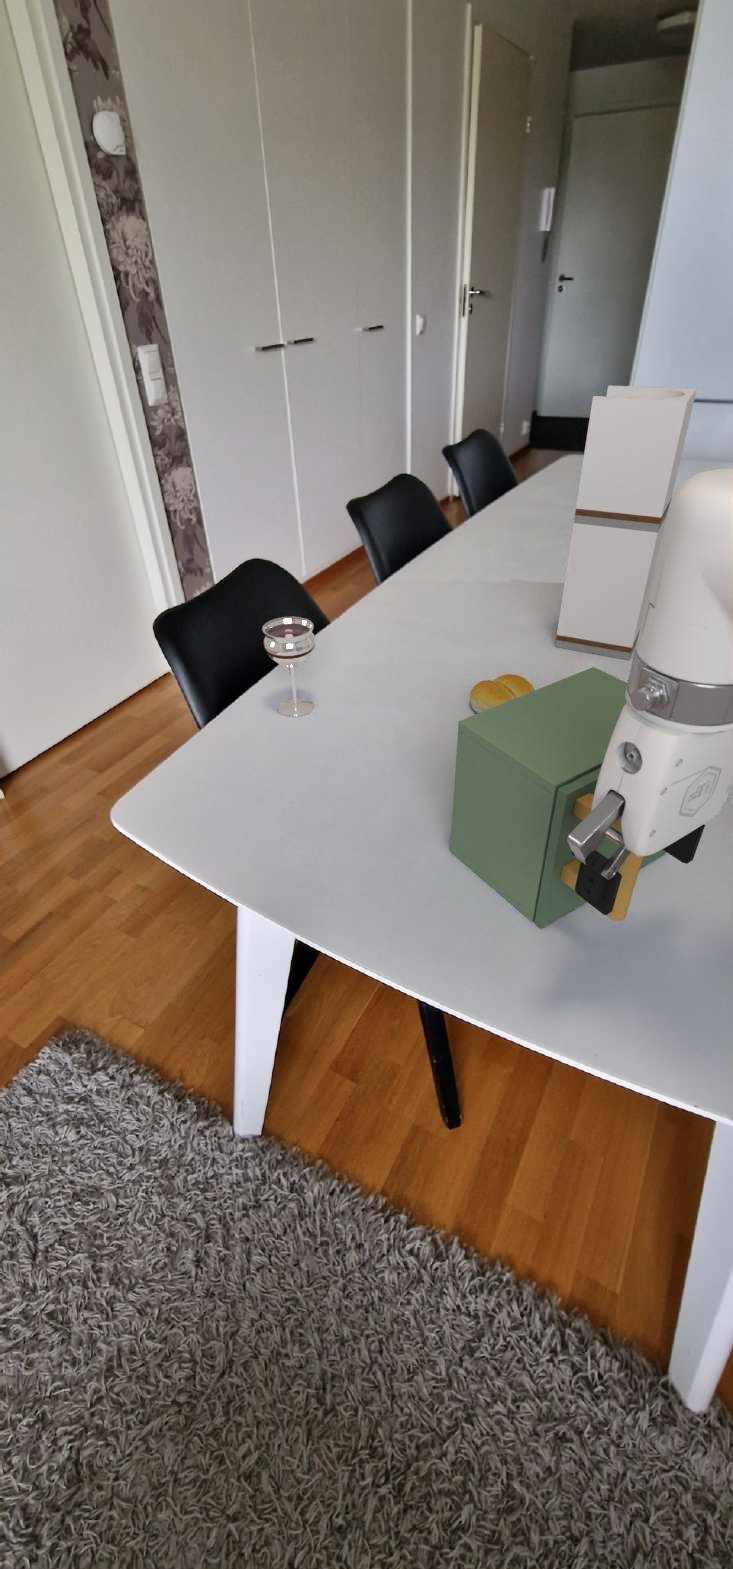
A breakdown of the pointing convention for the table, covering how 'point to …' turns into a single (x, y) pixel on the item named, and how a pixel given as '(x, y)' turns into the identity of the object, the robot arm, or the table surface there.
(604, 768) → the robot arm
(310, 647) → the wineglass
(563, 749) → the cupboard
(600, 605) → the tall white column
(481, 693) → the bread roll
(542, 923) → the cupboard door
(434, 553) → the table surface
